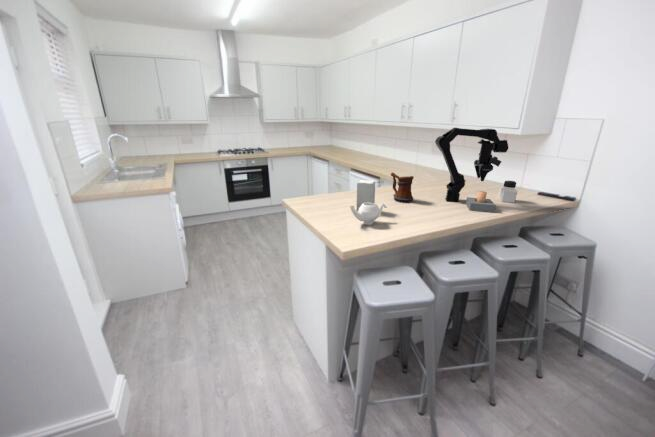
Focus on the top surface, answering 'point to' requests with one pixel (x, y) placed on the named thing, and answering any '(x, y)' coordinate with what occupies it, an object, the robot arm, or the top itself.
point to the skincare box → (365, 192)
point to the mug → (403, 188)
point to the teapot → (368, 212)
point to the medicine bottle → (508, 192)
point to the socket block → (480, 205)
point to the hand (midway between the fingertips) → (480, 179)
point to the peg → (481, 196)
